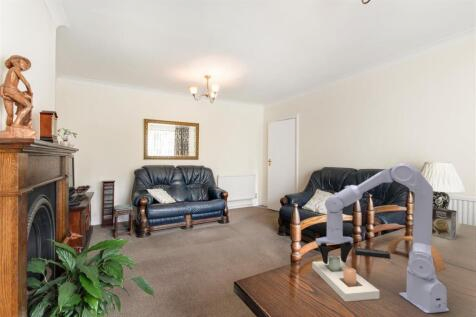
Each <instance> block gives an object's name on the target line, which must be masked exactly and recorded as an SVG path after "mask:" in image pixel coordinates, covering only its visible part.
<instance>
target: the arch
mask: <svg viewBox="0 0 476 317" xmlns="http://www.w3.org/2000/svg"><path fill="white" fill-rule="evenodd" d="M402 241H409V242H411V243H413V235H411V236H410V235H406V236H403V237H399V238H395V239H393V240H392V241H391V242H390V243H389V244H388V246H387V249H386V251H387V252H388V253H389V254H392V253H396V252H397V248H398V246H399V244H400V243H401V242H402ZM431 255H432V257H433V264H434V267H435V272H441V271H442V270H445V268H446V265H445V261H444V259H443V257H442V256H441V254H440V252H439V251H438V249H436V248H435V246H434V245H432V244H431Z"/></svg>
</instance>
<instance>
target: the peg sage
mask: <svg viewBox="0 0 476 317" xmlns="http://www.w3.org/2000/svg"><path fill="white" fill-rule="evenodd" d="M328 261H329V270H330V271H331V272H339V271H340V261H341V257H339V256H337V255H328Z"/></svg>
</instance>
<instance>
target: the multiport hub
mask: <svg viewBox="0 0 476 317" xmlns="http://www.w3.org/2000/svg"><path fill="white" fill-rule="evenodd" d="M352 250H353V253H355V254H354V255H355V256H361V257H370V258H379V259H380V258H381V259H389V260H391V253H388V252H387V250H381V249H373V248H372V249H371V248H362V247H361V248H360V247H352Z"/></svg>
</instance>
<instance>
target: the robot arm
mask: <svg viewBox="0 0 476 317" xmlns="http://www.w3.org/2000/svg"><path fill="white" fill-rule="evenodd" d="M394 181H395V182H397V183H399V184H401V185H403V186H405V187H406V188H408V189H409V190H410V191H411V192H412V193H414V209H413V231H412V233H413V235H412V236H413V242H412V247H411V249H410V250H409V253H408V262H407V265H408V266H407V267H406V292H399V293H398V294H399V295H400V296H401V297H402V298H403V299H405V300H407V301H408V303H411V304H412V305H413V306H415V307H416V308H418V309H420V310H421V311H422V312H424V313H425V314H433V313H434V314H435V313H443V312H449V311H450V310H449V308H448V305H447V304H448V302H447V301H448V296H447V295H448V292H447V291H448V290H447V288H446V285H444V284H443V283H442V282H441V281H439V280H438V278H437V274H436V271H435V266H434V263H433V257H432V255H431V245H432V209H433V208H434V207H433V204H434V188H433V186H432V185H431V184H430V182H429V181H428V179H427V178H426V177H425V176H424V175H423V174H422V172H421V171H420V170H419V169H418V168H417V167H415V166H413V165H412V164H409V163H406V162H401V163H398V164H395V165H394V166H392V167H388V168H386V169H384V170H381V171H378V172H377V173H375V175H373V176H371V177H369V178H368V179H366V180H364V181H363V182H361V183H360V184H358V185H355V184H351V185H346V186H344V189H342V190H340V191H338V192H334V194H333V196H329V197H328V198H327V199H326V200H325V202H324V206H325V209H326V236H323V237H319V238H318V237H317V238H315V244H316V245H317V247H318V249H319V252H320V254H321V257H322V261H323V262H324V263H325V264H327V263H328V261H329V251H330V247H329V246H328V245H334V244H335V245H337V244H339V249H340V261H341V262H342V263H344V264H345V263H346V262H347V259H348V256H349V254H350V252H351V250H353V244H354V237H351V236H344V235H343V233H344V231H343V230H344V228H343V227H344V226H343V222H344V220H343V218H344V217H343V209H344V207H348V206H350V205H352V204H354V203H355V202H358V201H359V200H361V199H362V198H363V194H364V193H366V192H367V191H370V190H372V189H373V188H375V187H377V186H379V185H381V184H383V183H393V182H394Z"/></svg>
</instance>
